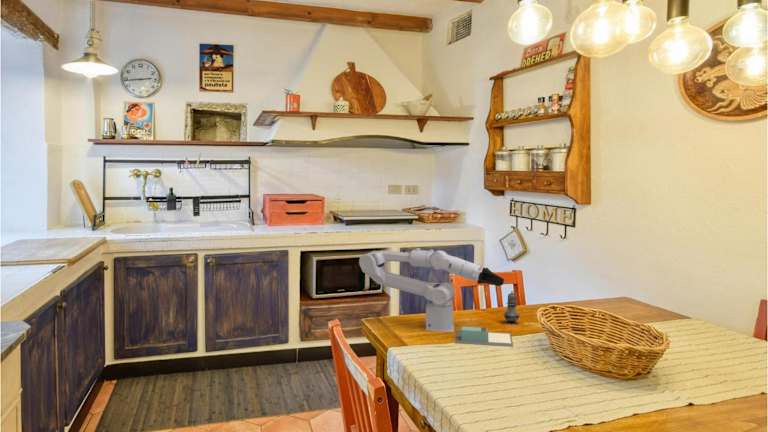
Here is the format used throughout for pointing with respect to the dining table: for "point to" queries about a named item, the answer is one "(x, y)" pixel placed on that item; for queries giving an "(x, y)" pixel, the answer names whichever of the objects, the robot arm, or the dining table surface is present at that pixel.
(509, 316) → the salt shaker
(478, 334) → the teal block
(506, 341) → the mat
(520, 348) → the dining table surface
